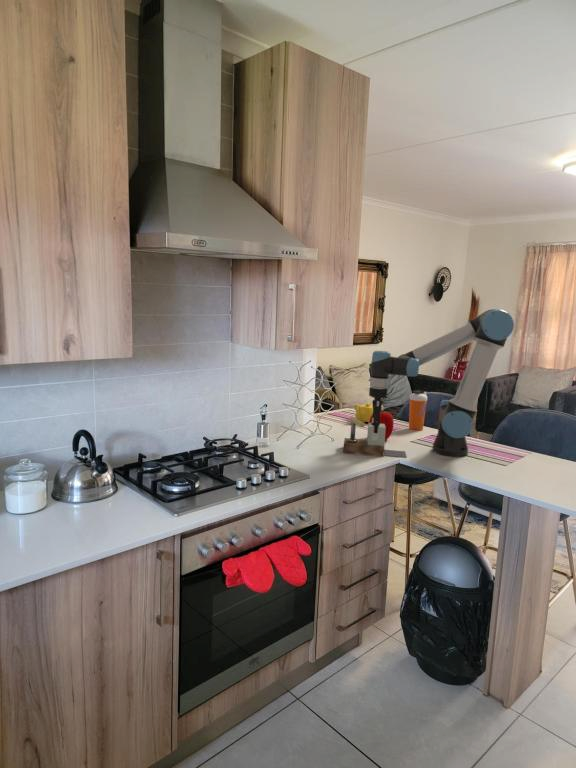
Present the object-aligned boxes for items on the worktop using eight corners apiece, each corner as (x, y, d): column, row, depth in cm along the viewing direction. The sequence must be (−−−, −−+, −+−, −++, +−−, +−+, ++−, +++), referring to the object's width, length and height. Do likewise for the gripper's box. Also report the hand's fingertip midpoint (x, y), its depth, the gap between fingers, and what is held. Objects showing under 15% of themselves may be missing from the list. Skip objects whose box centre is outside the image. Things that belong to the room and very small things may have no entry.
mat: (404, 452, 231) (405, 451, 231) (406, 457, 222) (406, 457, 222) (384, 450, 232) (384, 449, 232) (384, 456, 223) (384, 455, 223)
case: (382, 449, 233) (383, 441, 232) (383, 456, 223) (384, 447, 222) (344, 446, 235) (344, 437, 234) (343, 452, 225) (343, 443, 225)
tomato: (387, 443, 243) (389, 413, 241) (364, 439, 249) (366, 410, 247) (396, 438, 254) (398, 409, 252) (373, 434, 260) (375, 406, 257)
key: (365, 446, 221) (367, 423, 220) (356, 446, 220) (357, 423, 218) (354, 439, 232) (356, 417, 230) (345, 439, 230) (347, 417, 229)
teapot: (356, 424, 281) (358, 405, 280) (352, 418, 294) (353, 400, 293) (382, 424, 282) (383, 406, 280) (376, 419, 295) (378, 401, 294)
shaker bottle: (403, 428, 276) (406, 390, 272) (413, 426, 282) (416, 389, 278) (418, 431, 269) (421, 393, 266) (428, 429, 275) (431, 391, 272)
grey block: (383, 441, 231) (384, 423, 230) (384, 446, 224) (385, 427, 223) (367, 440, 232) (368, 422, 230) (367, 444, 225) (368, 426, 223)
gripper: (369, 382, 237) (365, 428, 240) (369, 391, 212) (365, 442, 216) (386, 383, 236) (382, 430, 239) (388, 393, 211) (384, 444, 215)
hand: (374, 436), depth 227 cm, fingers open, 13 cm apart
